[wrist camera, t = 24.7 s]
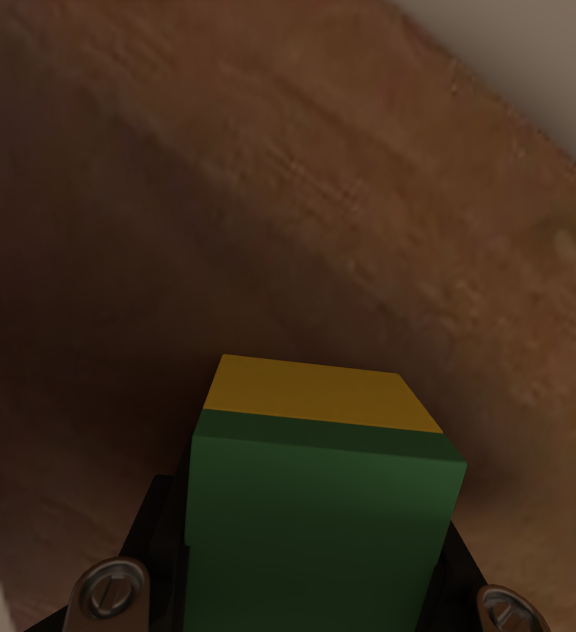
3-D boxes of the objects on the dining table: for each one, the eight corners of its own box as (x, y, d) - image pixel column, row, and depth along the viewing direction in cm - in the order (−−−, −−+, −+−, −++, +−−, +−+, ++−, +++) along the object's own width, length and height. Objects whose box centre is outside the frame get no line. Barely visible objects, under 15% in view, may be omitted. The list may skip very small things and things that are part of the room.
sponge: (351, 576, 13) (385, 737, 9) (202, 565, 12) (168, 728, 8) (398, 372, 11) (469, 463, 7) (222, 352, 10) (191, 436, 6)
